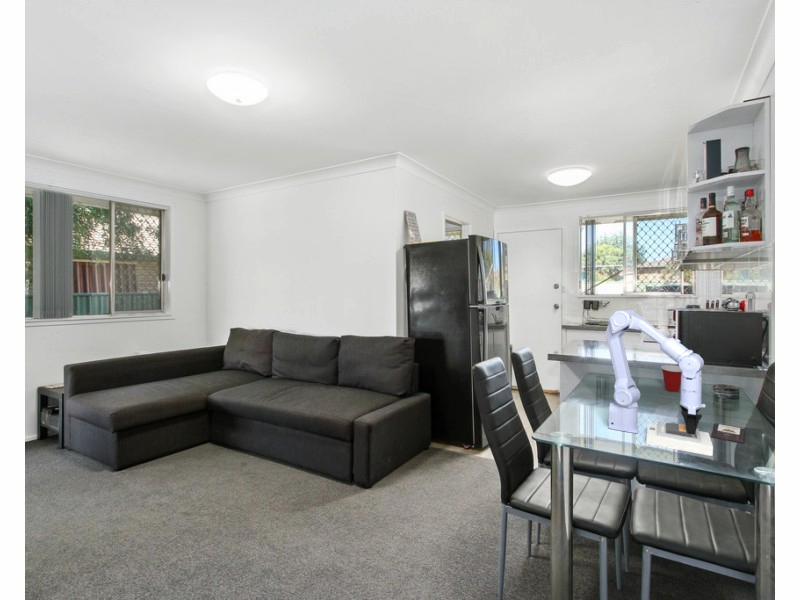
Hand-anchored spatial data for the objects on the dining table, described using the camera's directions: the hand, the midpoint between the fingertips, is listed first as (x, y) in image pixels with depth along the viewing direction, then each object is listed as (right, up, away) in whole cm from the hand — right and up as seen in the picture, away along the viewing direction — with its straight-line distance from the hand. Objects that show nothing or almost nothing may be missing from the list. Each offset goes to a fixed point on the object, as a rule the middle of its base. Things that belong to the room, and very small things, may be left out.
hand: (690, 430), depth 141 cm
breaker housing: (-3, -5, +2) cm, 6 cm away
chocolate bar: (+22, -6, +11) cm, 25 cm away
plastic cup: (+41, -3, +73) cm, 84 cm away
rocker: (-3, -2, +2) cm, 4 cm away
